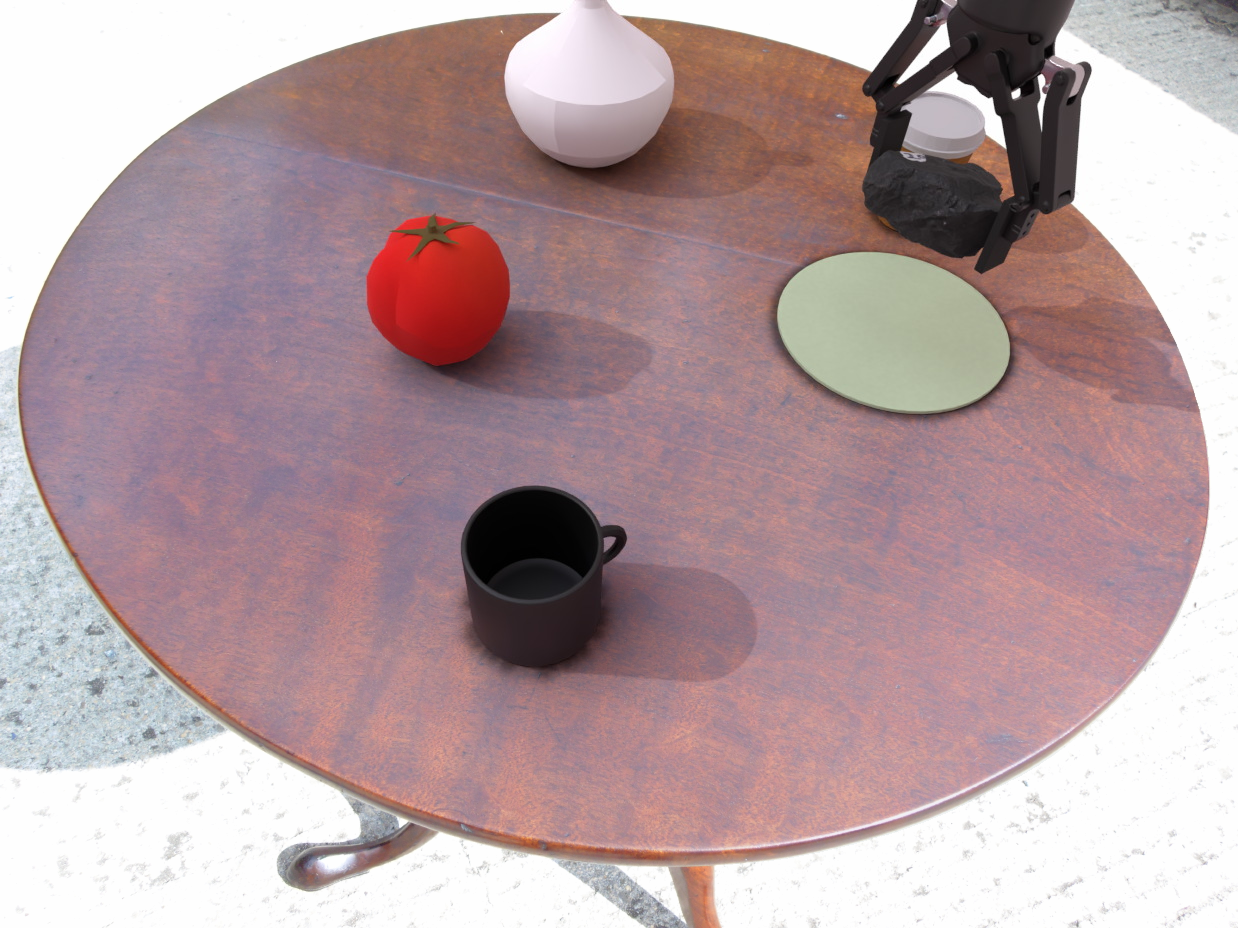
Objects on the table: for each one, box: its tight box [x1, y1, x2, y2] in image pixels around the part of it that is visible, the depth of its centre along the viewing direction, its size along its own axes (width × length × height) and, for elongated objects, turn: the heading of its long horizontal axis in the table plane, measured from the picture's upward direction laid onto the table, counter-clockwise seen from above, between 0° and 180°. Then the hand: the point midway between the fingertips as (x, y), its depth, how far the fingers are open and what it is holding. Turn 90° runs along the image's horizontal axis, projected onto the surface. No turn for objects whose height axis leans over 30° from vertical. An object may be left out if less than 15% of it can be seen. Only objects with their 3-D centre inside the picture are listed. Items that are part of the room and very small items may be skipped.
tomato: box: [365, 212, 511, 367], centre depth 79 cm, size 12×12×13 cm
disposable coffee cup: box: [877, 90, 987, 231], centre depth 95 cm, size 10×10×12 cm
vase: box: [503, 0, 675, 169], centre depth 98 cm, size 18×18×19 cm
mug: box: [460, 484, 628, 667], centre depth 64 cm, size 9×12×9 cm
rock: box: [861, 150, 1004, 260], centre depth 75 cm, size 9×10×6 cm
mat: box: [776, 251, 1011, 415], centre depth 88 cm, size 22×22×1 cm
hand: (930, 223), depth 77 cm, fingers closed on rock, 12 cm apart
